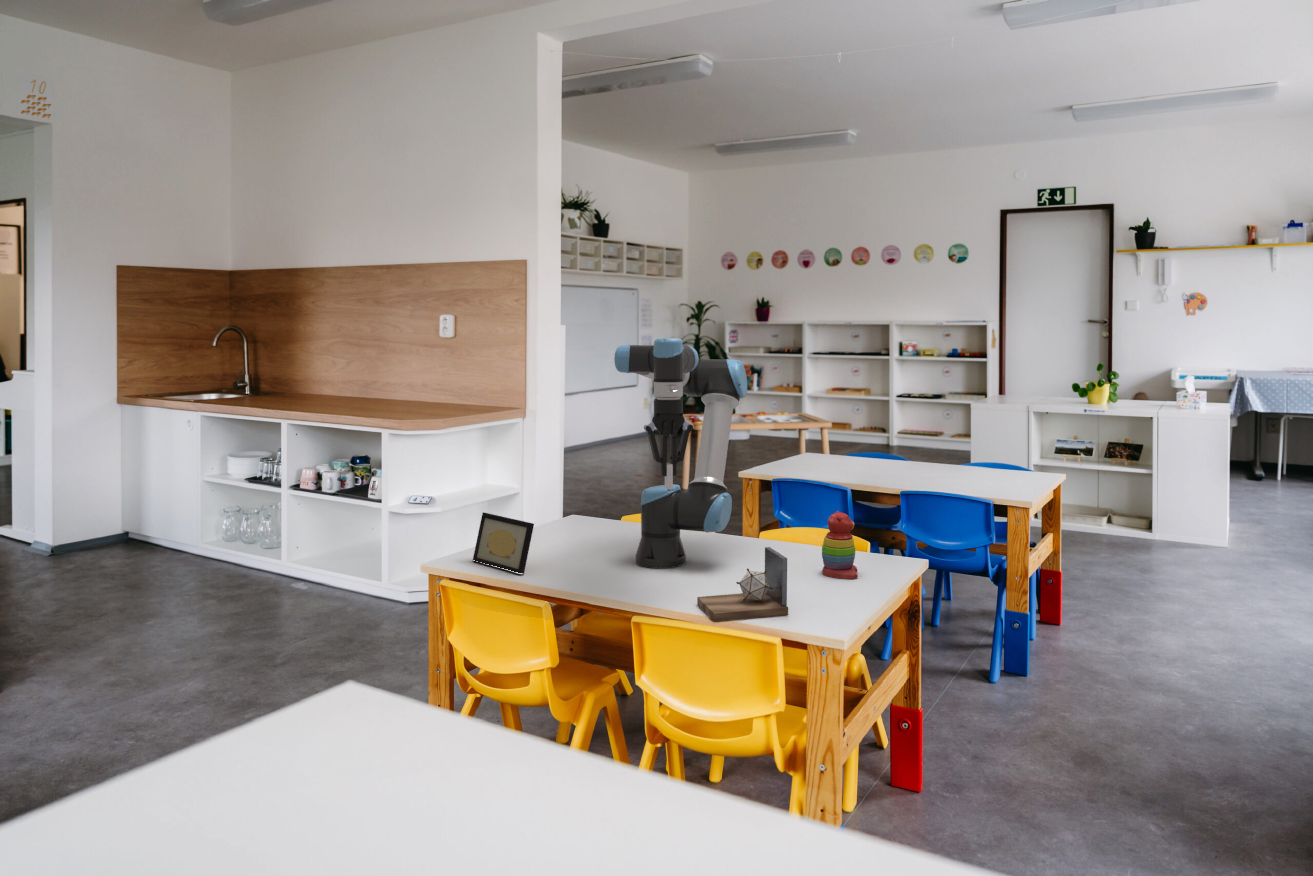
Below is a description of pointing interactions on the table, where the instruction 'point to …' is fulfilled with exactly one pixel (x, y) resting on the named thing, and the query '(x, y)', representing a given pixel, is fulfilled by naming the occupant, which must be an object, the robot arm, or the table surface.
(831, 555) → the stacking bear
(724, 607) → the shelf plank
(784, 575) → the bookend
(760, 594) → the game die
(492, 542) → the picture frame
